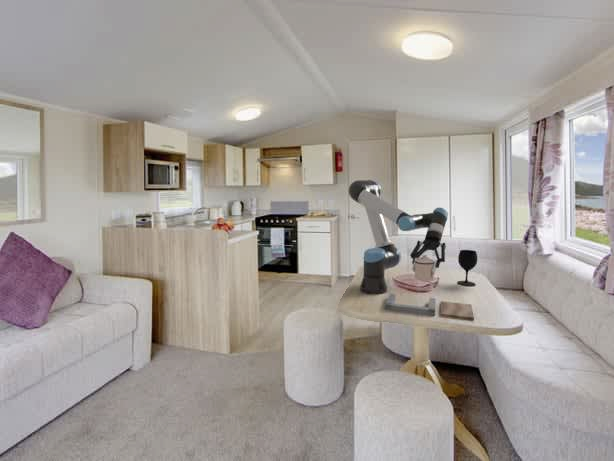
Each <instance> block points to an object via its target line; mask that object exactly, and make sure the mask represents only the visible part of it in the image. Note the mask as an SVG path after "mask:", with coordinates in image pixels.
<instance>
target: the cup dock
mask: <svg viewBox="0 0 614 461" xmlns="http://www.w3.org/2000/svg"><path fill="white" fill-rule="evenodd" d="M396 295H397V294H396V293H389V295H388V296H387V299H386V301H385V303H384V311H385V310H386V311H394V312H400V313H401V312H403V313H409V314H418V315H427V316H436V306H437V304H436V302H437V299H436V298H435V297H429V300H428V301H429V302H428V307H426V306H420V305H419V306H417V305H409V304H401V303H395V300H396V298H397V297H396Z"/></svg>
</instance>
